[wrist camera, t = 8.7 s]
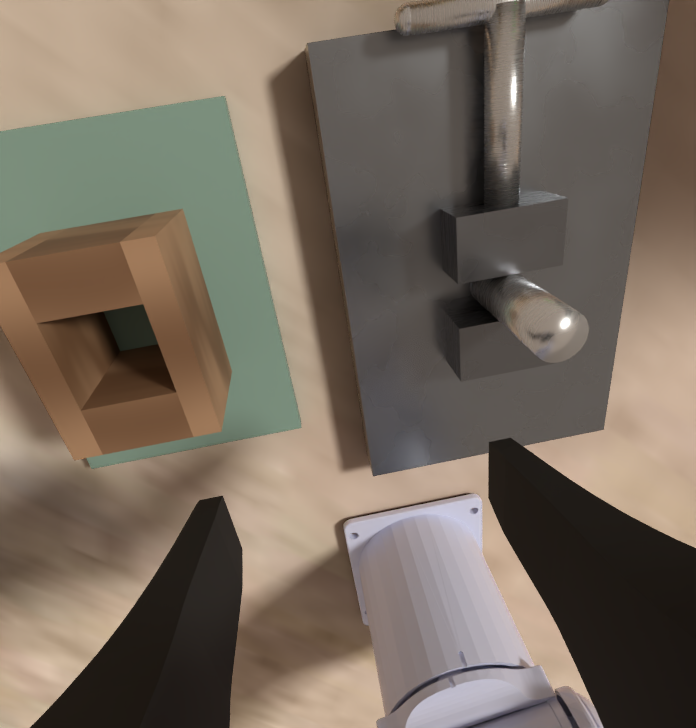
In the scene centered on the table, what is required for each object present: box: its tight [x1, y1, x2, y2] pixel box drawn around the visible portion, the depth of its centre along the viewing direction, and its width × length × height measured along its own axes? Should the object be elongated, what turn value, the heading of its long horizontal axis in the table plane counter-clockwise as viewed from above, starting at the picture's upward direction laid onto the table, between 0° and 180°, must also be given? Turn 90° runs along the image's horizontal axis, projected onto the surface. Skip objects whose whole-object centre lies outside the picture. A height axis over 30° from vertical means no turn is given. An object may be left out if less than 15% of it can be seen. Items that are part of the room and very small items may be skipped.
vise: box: [305, 0, 669, 476], centre depth 17 cm, size 18×12×7 cm, turn 8°
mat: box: [0, 96, 301, 469], centre depth 19 cm, size 14×10×1 cm
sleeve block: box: [0, 209, 232, 460], centre depth 17 cm, size 7×5×4 cm
